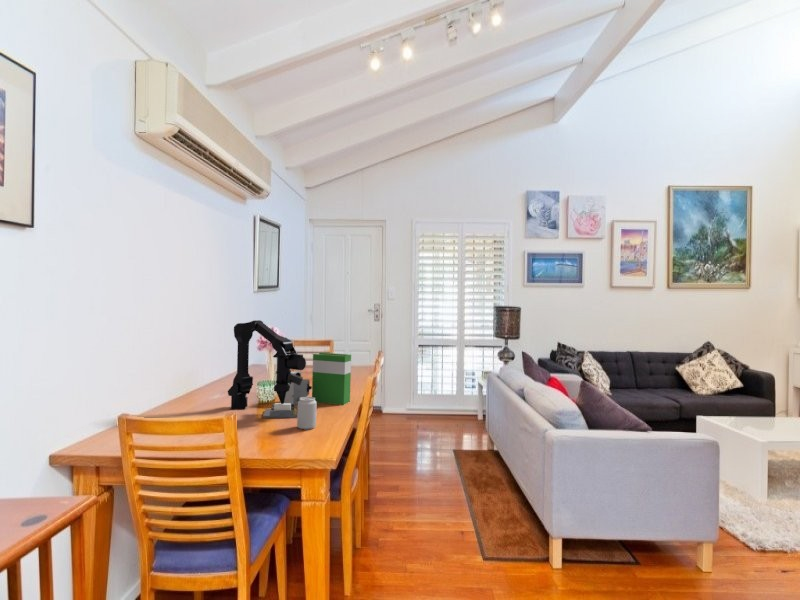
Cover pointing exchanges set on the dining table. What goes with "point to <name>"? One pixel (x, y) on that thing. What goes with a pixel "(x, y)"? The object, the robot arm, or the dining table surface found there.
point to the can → (306, 413)
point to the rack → (281, 413)
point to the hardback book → (331, 378)
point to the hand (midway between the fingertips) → (282, 403)
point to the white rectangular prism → (282, 406)
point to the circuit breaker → (297, 391)
